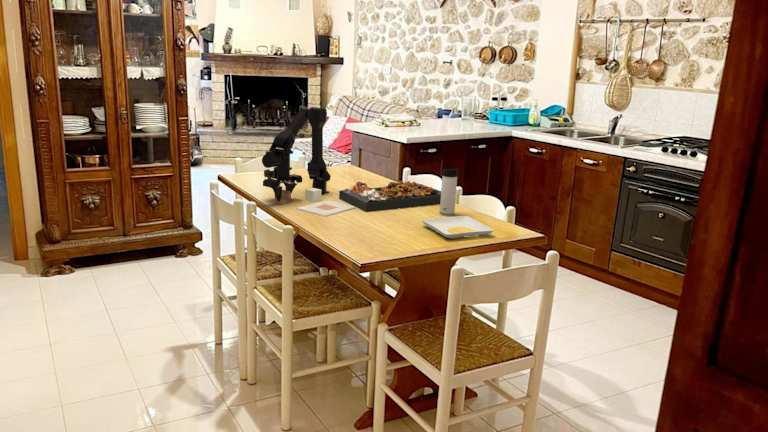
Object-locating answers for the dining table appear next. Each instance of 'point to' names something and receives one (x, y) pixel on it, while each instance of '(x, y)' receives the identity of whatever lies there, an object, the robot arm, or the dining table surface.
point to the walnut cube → (284, 197)
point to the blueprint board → (326, 208)
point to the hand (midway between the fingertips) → (282, 200)
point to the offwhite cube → (313, 194)
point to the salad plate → (462, 221)
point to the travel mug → (448, 191)
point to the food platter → (390, 196)
